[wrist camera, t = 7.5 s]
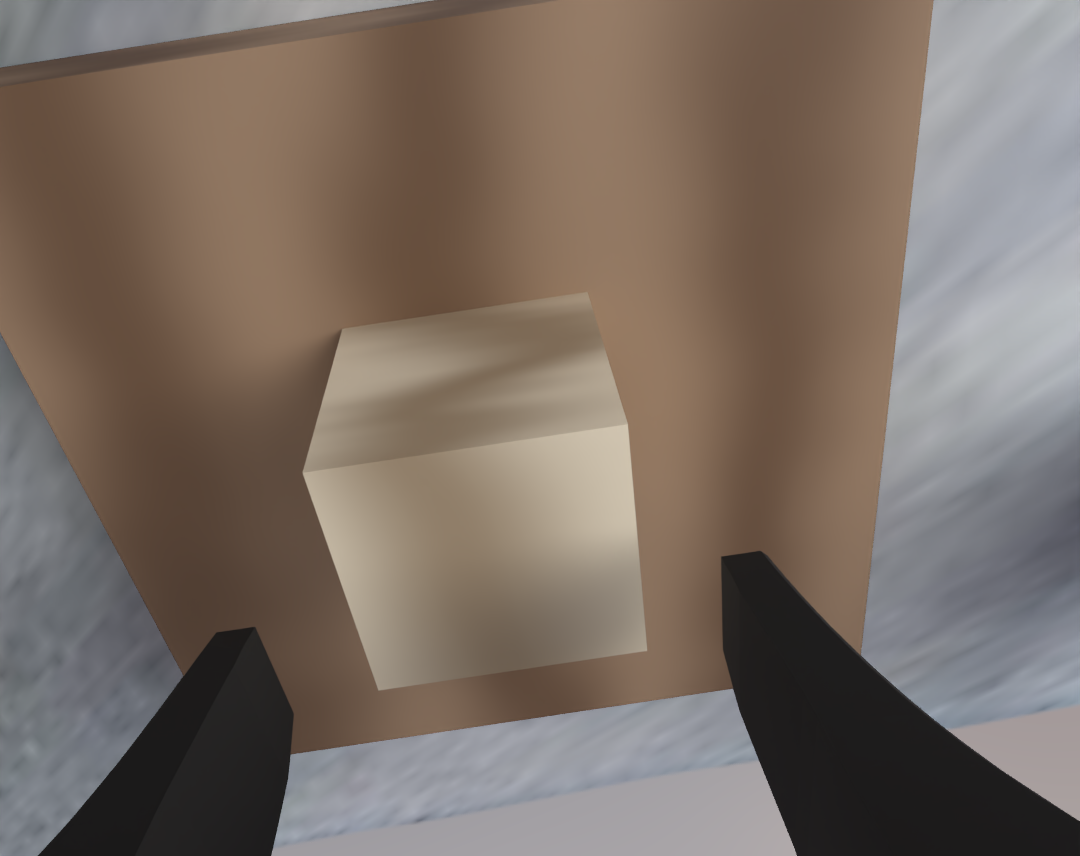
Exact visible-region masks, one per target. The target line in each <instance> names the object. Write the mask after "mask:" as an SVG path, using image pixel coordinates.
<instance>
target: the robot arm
mask: <svg viewBox="0 0 1080 856" xmlns="http://www.w3.org/2000/svg"><path fill="white" fill-rule="evenodd" d="M721 583H722V635H723V652H724V656H725V660H726V663H727V667H728V671H729V675H730V678H731V682H732V686H733V689H734V693H735V696H736V700H737V703H738V707H739V710H740V713H741V716H742V718H743V721H744V723H745V726H746V729H747V731H748V734H749V736H750V739H751V741H752V744H753V746H754V749H755V751H756V754H757V756H758V759H759V761H760V764H761V766H762V768H763V771H764V774H765V776H766V779H767V781H768V784H769V786H770V788H771V791H772V794H773V796H774V799H775V801H776V804H777V806H778V808H779V811H780V813H781V816H782V818H783V821H784V823H785V826H786V828H787V831H788V833H789V836H790V838H791V841H792V843H793V846H794V848H795V851H796V854H797V856H1080V821H1078V820H1076V819H1075V818H1073V817H1072V816H1070V815H1069V814H1067V813H1066V812H1064V811H1063V810H1061V809H1060V808H1058V807H1057V806H1055V805H1053V804H1052V803H1051V802H1049V801H1047V800H1046V799H1044V798H1043V797H1041V796H1040V795H1038V794H1037V793H1035V792H1034V791H1032V790H1031V789H1029V788H1027V787H1026V786H1024V785H1023V784H1021V783H1020V782H1018V781H1017V780H1015V779H1014V778H1012V777H1011V776H1009V775H1008V774H1006V773H1005V772H1003V771H1002V770H1000V769H999V768H997V767H996V766H995V765H993V764H992V763H991V762H989V761H988V760H987V759H985V758H984V757H982V756H981V755H980V754H978V753H977V752H975V751H974V750H973V749H971V748H970V747H969V746H967V745H966V744H965V743H963V742H962V741H961V740H959V739H958V738H957V737H955V736H954V735H953V734H952V733H950V732H949V731H948V730H946V729H945V728H944V727H943V726H941V725H940V724H939V723H937V722H936V721H935V720H934V719H932V718H931V717H930V716H929V715H928V714H926V713H925V712H924V711H923V710H921V709H920V708H919V707H918V706H917V705H915V704H914V703H913V702H912V701H911V700H910V699H908V698H907V697H906V696H905V695H904V694H903V693H901V692H900V691H899V690H898V689H897V688H896V687H895V686H894V685H892V684H891V683H890V682H889V681H888V680H887V679H886V678H884V677H883V676H882V675H881V674H880V673H879V672H878V671H877V670H876V669H875V668H873V667H872V666H871V665H870V664H869V663H868V662H867V661H866V660H865V659H864V658H863V657H862V656H861V655H860V654H859V653H858V652H857V651H856V650H855V649H854V648H853V647H852V646H851V645H850V644H848V643H847V642H846V641H845V640H844V639H843V638H842V637H841V636H840V635H839V634H838V633H837V632H836V631H835V630H834V629H833V628H832V627H831V626H830V625H829V624H828V623H827V622H826V621H825V620H824V618H823V617H822V616H821V615H820V614H819V613H818V612H817V611H816V610H815V609H814V608H813V607H812V606H811V605H810V604H809V602H808V601H807V600H806V599H805V598H804V597H803V596H802V595H801V594H800V593H799V592H798V590H797V589H796V588H795V587H794V586H793V585H792V584H791V583H790V581H789V580H788V579H787V578H786V577H785V576H784V575H783V573H782V572H781V571H780V570H779V569H778V567H777V566H776V565H775V564H774V563H773V562H772V560H771V559H770V558H769V557H768V555H766V554H765V553H763V552H762V551H755V552H748V553H742V554H735V555H729V556H722V557H721ZM293 719H294V713H293V710H292V708H291V706H290V704H289V701H288V699H287V697H286V695H285V692H284V690H283V688H282V686H281V683H280V681H279V679H278V677H277V674H276V672H275V670H274V668H273V665H272V663H271V661H270V659H269V657H268V654H267V652H266V650H265V648H264V645H263V643H262V641H261V639H260V636H259V634H258V632H257V630H256V627H249V628H243V629H236V630H229V631H223V632H216V633H215V635H214V636H213V637H212V639H211V640H210V641H209V643H208V644H207V645H206V647H205V648H204V649H203V650H202V652H201V653H200V654H199V656H198V657H197V658H196V660H195V661H194V663H193V664H192V665H191V667H190V668H189V669H188V671H187V672H186V673H185V675H184V676H183V678H182V679H181V680H180V682H179V683H178V684H177V686H176V687H175V689H174V690H173V691H172V693H171V694H170V695H169V697H168V698H167V699H166V701H165V702H164V703H163V705H162V706H161V707H160V709H159V710H158V712H157V713H156V714H155V716H154V717H153V718H152V719H151V721H150V722H149V723H148V725H147V726H146V727H145V729H144V730H143V731H142V733H141V734H140V735H139V736H138V738H137V739H136V740H135V742H134V743H133V744H132V746H131V747H130V748H129V750H128V751H127V752H126V753H125V755H124V756H123V757H122V759H121V760H120V761H119V762H118V764H117V765H116V766H115V767H114V769H113V770H112V771H111V772H110V773H109V775H108V776H107V777H106V778H105V779H104V781H103V782H102V783H101V784H100V785H99V787H98V788H97V789H96V790H95V791H94V793H93V794H92V795H91V796H90V798H89V799H88V800H87V801H86V802H85V804H84V805H83V806H82V807H81V808H80V810H79V811H78V812H77V813H76V814H75V815H74V817H73V818H72V819H71V820H70V821H69V822H68V823H67V825H66V826H65V827H64V828H63V829H62V830H61V831H60V832H59V833H58V835H57V836H56V837H55V838H54V839H53V840H52V841H51V842H50V843H49V844H48V845H47V847H46V848H45V849H44V850H43V851H42V852H41V853H40V854H39V855H38V856H271V854H272V850H273V845H274V841H275V836H276V832H277V827H278V823H279V818H280V814H281V809H282V804H283V800H284V795H285V790H286V785H287V781H288V773H289V764H290V754H291V744H292V731H293Z"/></svg>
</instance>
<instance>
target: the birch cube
mask: <svg viewBox="0 0 1080 856" xmlns="http://www.w3.org/2000/svg"><path fill="white" fill-rule="evenodd" d="M303 476H304V479H305V482H306V485H307V487H308V490H309V493H310V496H311V499H312V502H313V505H314V507H315V510H316V513H317V516H318V519H319V522H320V525H321V527H322V530H323V533H324V536H325V539H326V542H327V545H328V547H329V550H330V553H331V556H332V559H333V562H334V565H335V567H336V570H337V573H338V576H339V579H340V582H341V585H342V588H343V590H344V593H345V596H346V599H347V602H348V605H349V608H350V610H351V613H352V616H353V619H354V622H355V625H356V628H357V630H358V633H359V636H360V639H361V642H362V645H363V648H364V650H365V653H366V656H367V659H368V662H369V665H370V668H371V670H372V673H373V676H374V679H375V682H376V685H377V688H378V690H386V689H393V688H400V687H406V686H413V685H420V684H427V683H433V682H440V681H447V680H454V679H460V678H467V677H474V676H481V675H487V674H494V673H501V672H508V671H514V670H521V669H528V668H535V667H541V666H548V665H555V664H562V663H569V662H575V661H582V660H589V659H596V658H602V657H609V656H616V655H623V654H629V653H636V652H643V651H647V642H646V630H645V618H644V607H643V595H642V583H641V572H640V560H639V548H638V537H637V525H636V513H635V502H634V490H633V478H632V467H631V455H630V443H629V432H628V423H627V420H626V416H625V413H624V410H623V407H622V403H621V400H620V397H619V394H618V390H617V387H616V384H615V380H614V377H613V374H612V371H611V367H610V364H609V361H608V357H607V354H606V351H605V348H604V344H603V341H602V338H601V334H600V331H599V328H598V325H597V321H596V318H595V315H594V312H593V308H592V305H591V302H590V298H589V295H588V292H584V293H577V294H570V295H564V296H557V297H550V298H544V299H537V300H530V301H524V302H517V303H511V304H504V305H497V306H491V307H484V308H477V309H471V310H464V311H457V312H451V313H444V314H438V315H431V316H424V317H418V318H411V319H404V320H398V321H391V322H384V323H378V324H371V325H365V326H358V327H351V328H345V329H342V332H341V336H340V339H339V343H338V347H337V350H336V354H335V357H334V361H333V365H332V368H331V372H330V375H329V379H328V383H327V386H326V390H325V393H324V397H323V401H322V404H321V408H320V411H319V415H318V419H317V422H316V426H315V429H314V433H313V437H312V440H311V444H310V447H309V451H308V455H307V458H306V462H305V465H304V469H303Z"/></svg>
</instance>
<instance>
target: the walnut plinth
mask: <svg viewBox="0 0 1080 856" xmlns="http://www.w3.org/2000/svg"><path fill="white" fill-rule="evenodd" d="M932 9H933V0H434V1H428V2H421V3H415V4H408V5H402V6H395V7H389V8H382V9H376V10H370V11H363V12H357V13H350V14H344V15H337V16H331V17H324V18H318V19H312V20H305V21H299V22H292V23H286V24H279V25H273V26H267V27H260V28H254V29H247V30H241V31H234V32H228V33H221V34H215V35H209V36H202V37H196V38H189V39H183V40H176V41H170V42H163V43H157V44H151V45H144V46H138V47H131V48H125V49H118V50H112V51H105V52H99V53H93V54H86V55H80V56H73V57H67V58H60V59H54V60H47V61H41V62H35V63H28V64H22V65H15V66H9V67H2V68H0V333H1V335H2V337H3V338H4V340H5V342H6V344H7V346H8V348H9V350H10V352H11V353H12V355H13V357H14V359H15V361H16V363H17V365H18V366H19V368H20V370H21V372H22V374H23V376H24V378H25V380H26V381H27V383H28V385H29V387H30V389H31V391H32V393H33V395H34V396H35V398H36V400H37V402H38V404H39V406H40V408H41V410H42V411H43V413H44V415H45V417H46V419H47V421H48V423H49V425H50V426H51V428H52V430H53V432H54V434H55V436H56V438H57V440H58V441H59V443H60V445H61V447H62V449H63V451H64V453H65V455H66V456H67V458H68V460H69V462H70V464H71V466H72V468H73V470H74V471H75V473H76V475H77V477H78V479H79V481H80V483H81V484H82V486H83V488H84V490H85V492H86V494H87V496H88V498H89V499H90V501H91V503H92V505H93V507H94V509H95V511H96V513H97V514H98V516H99V518H100V520H101V522H102V524H103V526H104V528H105V529H106V531H107V533H108V535H109V537H110V539H111V541H112V543H113V544H114V546H115V548H116V550H117V552H118V554H119V556H120V558H121V559H122V561H123V563H124V565H125V567H126V569H127V571H128V573H129V574H130V576H131V578H132V580H133V582H134V584H135V586H136V588H137V589H138V591H139V593H140V595H141V597H142V599H143V601H144V602H145V604H146V606H147V608H148V610H149V612H150V614H151V616H152V617H153V619H154V621H155V623H156V625H157V627H158V629H159V631H160V632H161V634H162V636H163V638H164V640H165V642H166V644H167V646H168V647H169V649H170V651H171V653H172V655H173V657H174V659H175V661H176V662H177V664H178V666H179V668H180V670H181V672H182V674H183V676H184V675H185V673H186V672H187V671H188V669H189V668H190V667H191V665H192V664H193V663H194V661H195V660H196V658H197V657H198V656H199V654H200V653H201V652H202V650H203V649H204V648H205V647H206V645H207V644H208V643H209V641H210V640H211V639H212V637H213V636H214V635H215V633H216V632H223V631H229V630H236V629H243V628H249V627H256V630H257V632H258V634H259V636H260V639H261V641H262V643H263V645H264V648H265V650H266V652H267V654H268V657H269V659H270V661H271V663H272V665H273V668H274V670H275V672H276V674H277V677H278V679H279V681H280V683H281V686H282V688H283V690H284V692H285V695H286V697H287V699H288V701H289V704H290V706H291V708H292V710H293V713H294V719H293V731H292V744H291V754H296V753H303V752H310V751H316V750H323V749H330V748H337V747H343V746H350V745H357V744H363V743H370V742H377V741H384V740H390V739H397V738H404V737H410V736H417V735H424V734H431V733H437V732H444V731H451V730H458V729H464V728H471V727H478V726H484V725H491V724H498V723H505V722H511V721H518V720H525V719H531V718H538V717H545V716H552V715H558V714H565V713H572V712H578V711H585V710H592V709H599V708H605V707H612V706H619V705H625V704H632V703H639V702H646V701H652V700H659V699H666V698H673V697H679V696H686V695H693V694H699V693H706V692H713V691H720V690H726V689H733V686H732V682H731V678H730V675H729V671H728V667H727V663H726V660H725V656H724V652H723V635H722V583H721V557H722V556H729V555H735V554H742V553H748V552H755V551H762V552H763V553H765V554H766V555H768V557H769V558H770V559H771V560H772V562H773V563H774V564H775V565H776V566H777V567H778V569H779V570H780V571H781V572H782V573H783V575H784V576H785V577H786V578H787V579H788V580H789V581H790V583H791V584H792V585H793V586H794V587H795V588H796V589H797V590H798V592H799V593H800V594H801V595H802V596H803V597H804V598H805V599H806V600H807V601H808V602H809V604H810V605H811V606H812V607H813V608H814V609H815V610H816V611H817V612H818V613H819V614H820V615H821V616H822V617H823V618H824V620H825V621H826V622H827V623H828V624H829V625H830V626H831V627H832V628H833V629H834V630H835V631H836V632H837V633H838V634H839V635H840V636H841V637H842V638H843V639H844V640H845V641H846V642H847V643H848V644H850V645H851V646H852V647H853V648H854V649H855V650H856V651H857V652H858V653H859V654H860V655H861V647H862V638H863V629H864V620H865V611H866V602H867V593H868V584H869V575H870V566H871V557H872V548H873V540H874V531H875V522H876V513H877V504H878V495H879V486H880V477H881V468H882V459H883V450H884V441H885V432H886V423H887V414H888V405H889V396H890V387H891V378H892V369H893V360H894V351H895V342H896V333H897V324H898V315H899V306H900V297H901V288H902V279H903V270H904V261H905V252H906V243H907V234H908V225H909V216H910V207H911V198H912V189H913V180H914V171H915V162H916V153H917V144H918V135H919V126H920V117H921V108H922V99H923V90H924V81H925V72H926V63H927V54H928V45H929V36H930V27H931V18H932ZM584 292H588V295H589V298H590V302H591V305H592V308H593V312H594V315H595V318H596V321H597V325H598V328H599V331H600V334H601V338H602V341H603V344H604V348H605V351H606V354H607V357H608V361H609V364H610V367H611V371H612V374H613V377H614V380H615V384H616V387H617V390H618V394H619V397H620V400H621V403H622V407H623V410H624V413H625V416H626V420H627V423H628V432H629V443H630V455H631V467H632V478H633V490H634V502H635V513H636V525H637V537H638V548H639V560H640V572H641V583H642V595H643V607H644V618H645V630H646V642H647V651H643V652H636V653H629V654H623V655H616V656H609V657H602V658H596V659H589V660H582V661H575V662H569V663H562V664H555V665H548V666H541V667H535V668H528V669H521V670H514V671H508V672H501V673H494V674H487V675H481V676H474V677H467V678H460V679H454V680H447V681H440V682H433V683H427V684H420V685H413V686H406V687H400V688H393V689H386V690H378V688H377V685H376V682H375V679H374V676H373V673H372V670H371V668H370V665H369V662H368V659H367V656H366V653H365V650H364V648H363V645H362V642H361V639H360V636H359V633H358V630H357V628H356V625H355V622H354V619H353V616H352V613H351V610H350V608H349V605H348V602H347V599H346V596H345V593H344V590H343V588H342V585H341V582H340V579H339V576H338V573H337V570H336V567H335V565H334V562H333V559H332V556H331V553H330V550H329V547H328V545H327V542H326V539H325V536H324V533H323V530H322V527H321V525H320V522H319V519H318V516H317V513H316V510H315V507H314V505H313V502H312V499H311V496H310V493H309V490H308V487H307V485H306V482H305V479H304V476H303V469H304V465H305V462H306V458H307V455H308V451H309V447H310V444H311V440H312V437H313V433H314V429H315V426H316V422H317V419H318V415H319V411H320V408H321V404H322V401H323V397H324V393H325V390H326V386H327V383H328V379H329V375H330V372H331V368H332V365H333V361H334V357H335V354H336V350H337V347H338V343H339V339H340V336H341V332H342V329H345V328H351V327H358V326H365V325H371V324H378V323H384V322H391V321H398V320H404V319H411V318H418V317H424V316H431V315H438V314H444V313H451V312H457V311H464V310H471V309H477V308H484V307H491V306H497V305H504V304H511V303H517V302H524V301H530V300H537V299H544V298H550V297H557V296H564V295H570V294H577V293H584Z"/></svg>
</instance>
